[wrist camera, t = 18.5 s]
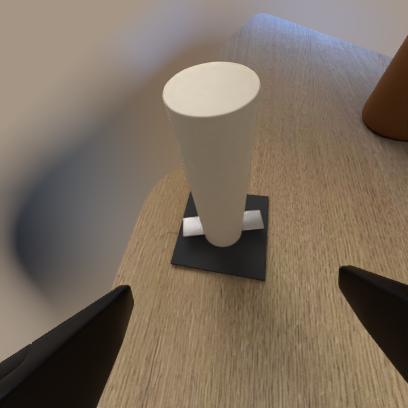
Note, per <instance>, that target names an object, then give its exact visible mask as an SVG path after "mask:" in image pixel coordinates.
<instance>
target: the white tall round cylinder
mask: <svg viewBox="0 0 408 408" xmlns="http://www.w3.org/2000/svg"><path fill="white" fill-rule="evenodd" d="M259 94H260V80H259V78H258V76H257V74H256V73H255V72H254V71H252V70H251V69H249V68H248V67H246V66H243V65H240V64H236V63H231V62H210V63H205V64H200V65H196V66H193V67H190V68H187V69H185V70H183V71H181V72H180V73H178V74H176V75H175V76H174V77H172V78H171V79H170V80H169V81H168V83H167V84H166V86H165V87H164V90H163V101H164V105H165V108H166V111H167V114H168V118H169V121H170V124H171V127H172V130H173V134H174V137H175V140H176V143H177V147H178V150H179V154H180V157H181V160H182V163H183V167H184V170H185V173H186V177H187V180H188V183H189V186H190V190H191V193H192V196H193V199H194V203H195V206H196V209H197V213H198V216H199V217H190V218H183V237H184V238H189V237H198V236H205V237H206V239H207V240H208V241H209V242H210V243H211V244H213V245H215V246H219V247H227V246H230V245H232V244H234V243H235V242H237V240H238V239H239V238H240V236H241V233H242V232H247V231H256V230H264V225H263V221H262V217H261V212H260V210H254V211H245V204H246V196H247V188H248V180H249V172H250V165H251V157H252V149H253V141H254V133H255V126H256V118H257V110H258V102H259ZM244 211H245V212H244Z"/></svg>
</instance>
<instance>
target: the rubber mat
mask: <svg viewBox="0 0 408 408" xmlns="http://www.w3.org/2000/svg"><path fill="white" fill-rule="evenodd" d="M254 210H260V212H261V217H262V221H263V225H264V230H256V231H247V232H242V233H241V236H240V238H239V239H238V240H237V242H235V243H234V244H232V245H230V246H227V247H219V246H215V245H213V244H211V243H210V242H209V241H208V240H207V239H206V237H205V236H198V237H189V238H184V237H183V221H182V224H181V228H180V231H179V235H178V239H177V242H176V246H175V249H174V253H173V257H172V260H171V264H174V265H180V266H185V267H191V268H196V269H202V270H207V271H213V272H218V273H224V274H229V275H235V276H240V277H246V278H251V279H257V280H262V281H265V267H266V243H267V219H268V196H258V195H248V194H247V196H246V204H245V211H254ZM245 211H244V212H245ZM190 217H199V216H198V213H197V209H196V206H195V203H194V199H193V196H192V193H191V192H190V195H189V199H188V202H187V206H186V210H185V213H184V217H183V218H190Z"/></svg>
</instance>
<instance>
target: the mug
mask: <svg viewBox="0 0 408 408" xmlns="http://www.w3.org/2000/svg"><path fill="white" fill-rule="evenodd" d="M362 116H363V120H364V122H365V123H366V125H367V126H368V127H369V128H371V129H372V130H373V131H375V132H376V133H378V134H380V135H383V136H385V137H388V138H392V139H397V140H408V36H407V37H406V39H405V40H404V42H403V44H402V45H401V47H400V48H399V50H398V52H397V53H396V55H395V56H394V58H393V60H392V61H391V63H390V65H389V66H388V68H387V69H386V71H385V73H384V74H383V76H382V77H381V79H380V81H379V82H378V84H377V86H376V87H375V89H374V91H373V92H372V94H371V96H370V97H369V99H368V100H367V102H366V104H365V106H364V108H363V111H362Z"/></svg>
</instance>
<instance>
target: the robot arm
mask: <svg viewBox="0 0 408 408" xmlns="http://www.w3.org/2000/svg"><path fill="white" fill-rule="evenodd" d="M338 285H339V288H340V290H341V292H342V294H343V295H344V297H345V298H346V300H347V301H348V303H349V304H350V306H351V308H352V309H353V311H354V312H355V314H356V315H357V317H358V319H359V320H360V322H361V323H362V325H363V326H364V327H365V329H366V330H367V331H368V333H369V334H370V335H371V337H372V338H373V339H374V341H375V342H376V343H377V344H378V346H379V347H380V348H381V350H382V351H383V352H384V353H385V355H386V356H387V357H388V359H389V360H390V361H391V363H392V364H393V365H394V366H395V368H396V369H397V370H398V372H399V373H400V374H401V376H402V377H403V378H404V379H405V381H406V382H407V383H408V285H406V284H403V283H401V282H398V281H395V280H392V279H389V278H386V277H383V276H380V275H377V274H375V273H372V272H369V271H366V270H363V269H360V268H357V267H354V266H351V265H348V266H341V267H340V268H339V277H338ZM133 306H134V299H133V295H132V291H131V288H130V286H129V285H121V286H118V287H117V288H115V289H114V290H112V291H111V292H109V293H108V294H106V295H105V296H103V297H102V298H100V299H98V300H97V301H95V302H94V303H92V304H91V305H89V306H88V307H86V308H85V309H83V310H81V311H80V312H78V313H77V314H75V315H74V316H72V317H71V318H69V319H68V320H66V321H64V322H63V323H61V324H60V325H58V326H57V327H55V328H54V329H52V330H51V331H49V332H48V333H46V334H44V335H43V336H41V337H40V338H38V339H37V340H35V341H34V342H32V344H29V345H27V346H26V347H25V348H23V349H21V350H20V351H18V352H17V353H15V354H13V355H12V356H10V357H9V358H7V359H5V360H4V361H2V362H1V363H0V408H97V405H98V403H99V400H100V398H101V395H102V393H103V390H104V388H105V385H106V383H107V380H108V378H109V375H110V373H111V370H112V368H113V365H114V363H115V360H116V358H117V355H118V353H119V350H120V348H121V345H122V343H123V340H124V337H125V333H126V330H127V327H128V323H129V320H130V316H131V313H132V310H133Z"/></svg>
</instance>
